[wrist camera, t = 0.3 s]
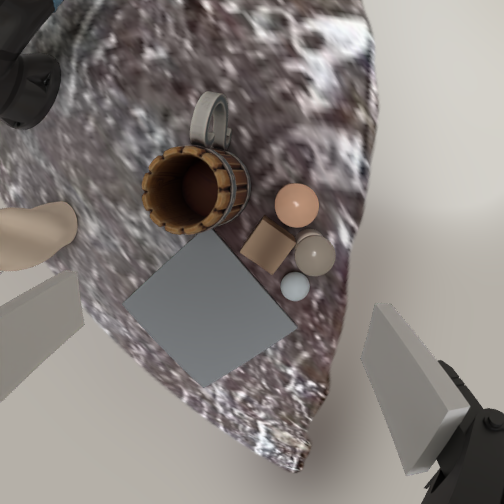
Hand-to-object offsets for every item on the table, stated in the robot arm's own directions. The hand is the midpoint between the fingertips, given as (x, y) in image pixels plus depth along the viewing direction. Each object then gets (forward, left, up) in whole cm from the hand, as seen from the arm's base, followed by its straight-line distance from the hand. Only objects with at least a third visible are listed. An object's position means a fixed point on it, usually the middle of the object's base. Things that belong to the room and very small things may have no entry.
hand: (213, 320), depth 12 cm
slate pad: (+6, -16, -30) cm, 35 cm away
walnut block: (+3, -1, -31) cm, 31 cm away
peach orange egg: (+1, +5, -30) cm, 31 cm away
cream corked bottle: (-21, -26, -31) cm, 45 cm away
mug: (-9, 0, -31) cm, 32 cm away
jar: (+7, +3, -30) cm, 31 cm away
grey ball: (+10, -2, -28) cm, 30 cm away
